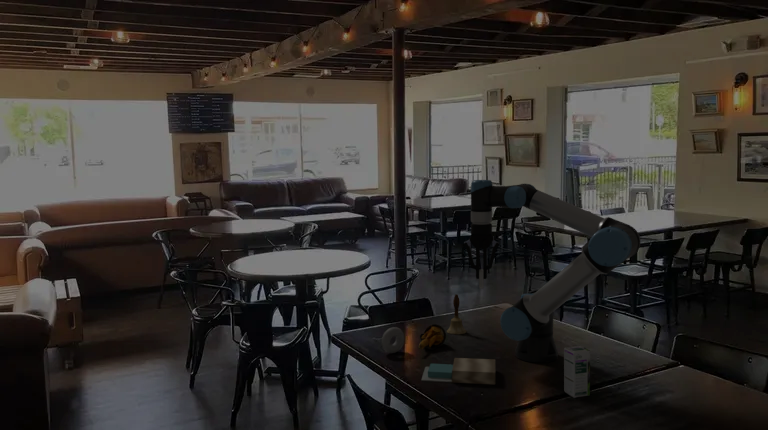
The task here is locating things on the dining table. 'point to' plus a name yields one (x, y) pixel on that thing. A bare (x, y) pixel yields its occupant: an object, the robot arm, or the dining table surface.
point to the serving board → (473, 371)
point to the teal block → (440, 370)
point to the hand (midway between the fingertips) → (481, 287)
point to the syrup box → (577, 371)
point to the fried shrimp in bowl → (432, 337)
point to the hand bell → (456, 320)
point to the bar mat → (426, 378)
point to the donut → (387, 340)
